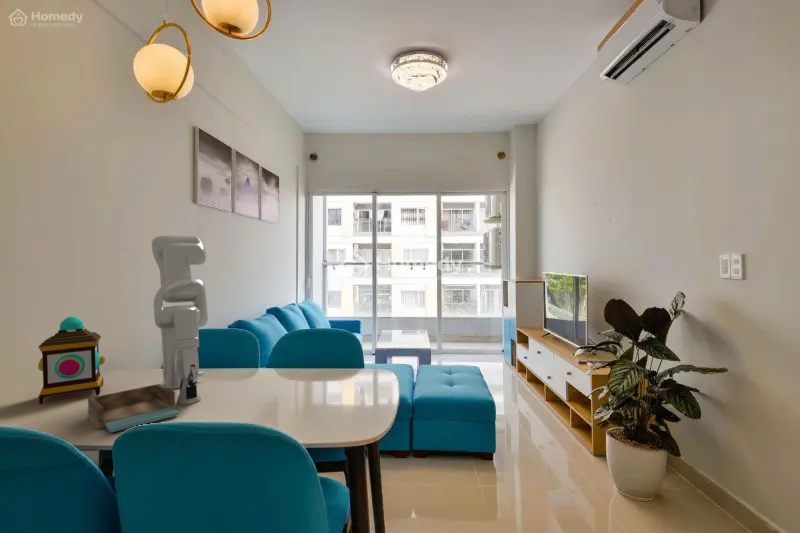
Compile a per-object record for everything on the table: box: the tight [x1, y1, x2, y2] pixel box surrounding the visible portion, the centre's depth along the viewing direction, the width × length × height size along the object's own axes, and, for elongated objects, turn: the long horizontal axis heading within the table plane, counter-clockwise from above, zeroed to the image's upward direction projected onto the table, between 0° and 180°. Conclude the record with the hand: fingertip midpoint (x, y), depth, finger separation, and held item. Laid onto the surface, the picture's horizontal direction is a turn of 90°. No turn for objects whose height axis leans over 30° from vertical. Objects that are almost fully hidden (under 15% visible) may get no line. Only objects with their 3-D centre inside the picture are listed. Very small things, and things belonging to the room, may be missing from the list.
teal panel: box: [105, 407, 180, 433], centre depth 120 cm, size 17×1×8 cm
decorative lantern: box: [37, 315, 106, 406], centre depth 154 cm, size 20×20×30 cm
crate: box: [87, 383, 176, 430], centre depth 128 cm, size 20×16×6 cm
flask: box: [175, 375, 201, 406], centre depth 139 cm, size 7×7×10 cm
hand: (188, 396), depth 138 cm, fingers closed on flask, 5 cm apart
